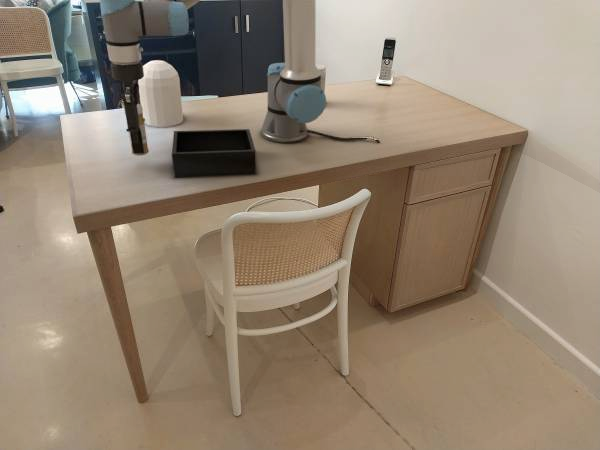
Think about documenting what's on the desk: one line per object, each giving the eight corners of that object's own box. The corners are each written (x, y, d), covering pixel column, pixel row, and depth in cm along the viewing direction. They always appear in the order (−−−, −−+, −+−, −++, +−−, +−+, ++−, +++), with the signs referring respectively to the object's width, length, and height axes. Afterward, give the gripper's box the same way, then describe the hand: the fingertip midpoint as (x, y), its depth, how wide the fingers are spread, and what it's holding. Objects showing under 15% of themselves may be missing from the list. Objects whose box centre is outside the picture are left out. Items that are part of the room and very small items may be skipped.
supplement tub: (328, 105, 178) (331, 67, 170) (311, 109, 173) (314, 70, 165) (311, 98, 184) (313, 61, 176) (294, 103, 178) (296, 65, 170)
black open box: (249, 150, 139) (249, 129, 135) (255, 174, 126) (255, 151, 122) (176, 153, 135) (173, 130, 131) (174, 177, 122) (171, 154, 118)
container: (180, 112, 164) (175, 55, 153) (186, 125, 153) (180, 65, 142) (142, 114, 159) (133, 56, 148) (145, 128, 149) (136, 66, 138)
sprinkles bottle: (145, 148, 127) (139, 101, 119) (151, 154, 124) (144, 106, 116) (129, 151, 124) (121, 103, 117) (134, 157, 121) (126, 109, 114)
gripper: (138, 71, 104) (151, 162, 117) (145, 53, 118) (155, 136, 131) (104, 70, 103) (121, 163, 116) (114, 53, 117) (128, 137, 130)
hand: (139, 148), depth 123 cm, fingers closed on sprinkles bottle, 4 cm apart
